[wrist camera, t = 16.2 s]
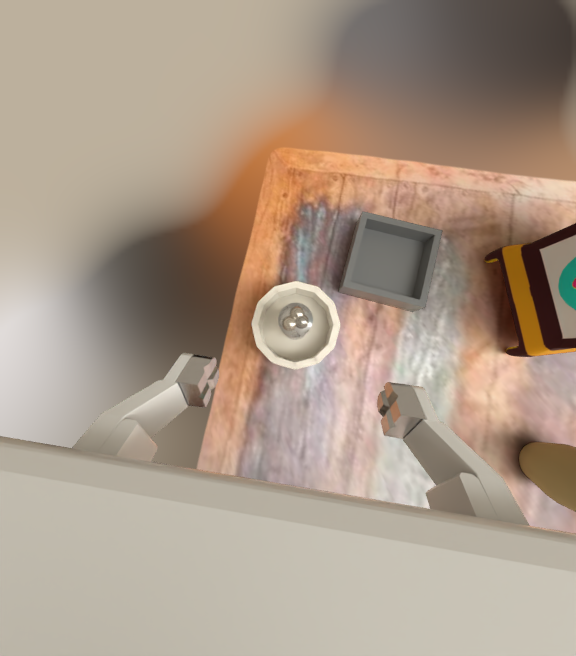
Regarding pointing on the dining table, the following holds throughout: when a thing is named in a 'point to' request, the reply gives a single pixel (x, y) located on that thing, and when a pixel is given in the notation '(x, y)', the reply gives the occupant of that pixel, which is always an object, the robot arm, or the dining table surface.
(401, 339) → the dining table surface
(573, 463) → the squeeze bottle
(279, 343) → the bowl
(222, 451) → the dining table surface
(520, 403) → the dining table surface
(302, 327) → the pebble cup
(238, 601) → the robot arm
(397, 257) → the tray
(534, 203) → the dining table surface
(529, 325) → the decorative lantern
